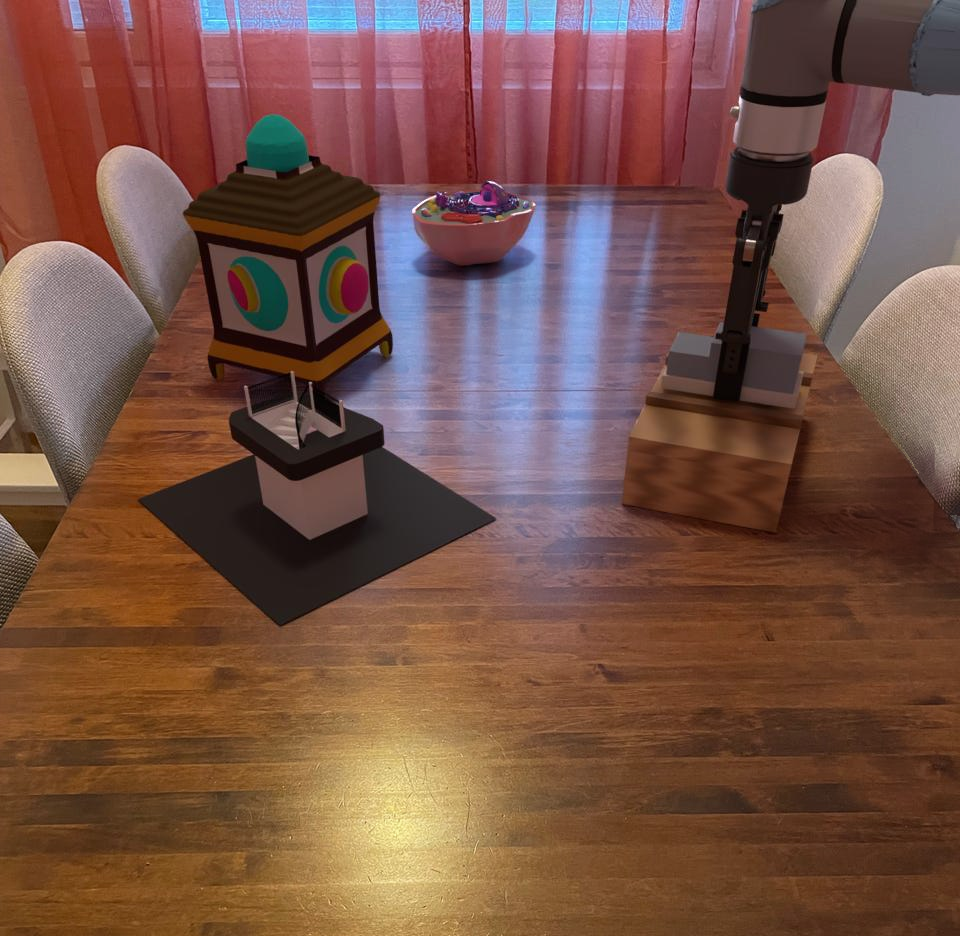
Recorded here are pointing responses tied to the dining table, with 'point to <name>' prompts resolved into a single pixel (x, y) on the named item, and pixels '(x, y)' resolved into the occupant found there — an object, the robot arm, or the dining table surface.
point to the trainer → (765, 374)
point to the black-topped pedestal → (310, 504)
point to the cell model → (473, 223)
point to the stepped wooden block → (714, 455)
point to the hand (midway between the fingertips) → (731, 384)
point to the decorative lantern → (289, 262)
